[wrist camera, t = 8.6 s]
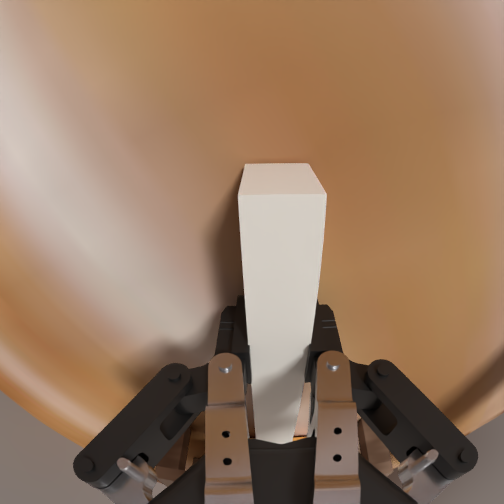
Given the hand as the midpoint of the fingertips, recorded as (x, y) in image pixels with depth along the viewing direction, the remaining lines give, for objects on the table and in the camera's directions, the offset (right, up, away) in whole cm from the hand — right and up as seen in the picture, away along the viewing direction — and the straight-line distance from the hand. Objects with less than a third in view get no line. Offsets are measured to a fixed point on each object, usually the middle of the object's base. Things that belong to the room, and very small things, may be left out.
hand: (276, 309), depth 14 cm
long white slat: (0, -5, +3) cm, 6 cm away
